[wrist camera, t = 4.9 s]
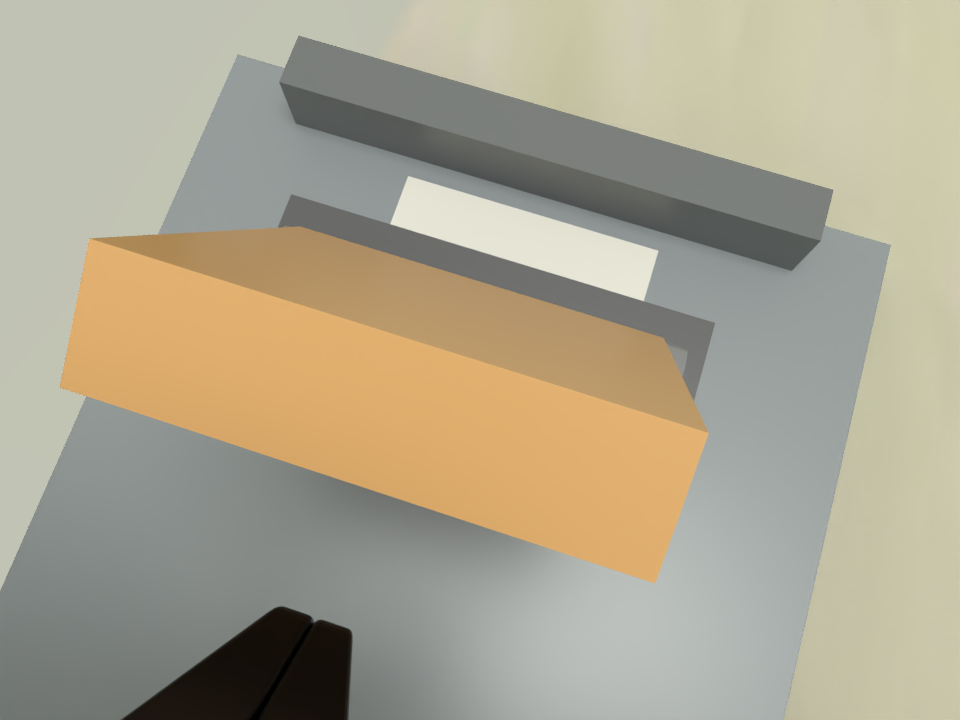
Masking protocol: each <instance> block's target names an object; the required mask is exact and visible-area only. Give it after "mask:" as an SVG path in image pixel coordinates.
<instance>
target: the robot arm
mask: <svg viewBox="0 0 960 720" xmlns="http://www.w3.org/2000/svg"><path fill="white" fill-rule="evenodd" d="M352 646H353V634H352V631H351V630H350V629H348V628H345V627H343V626H340V625H337V624H334V623H331V622H328V621H325V620H317V621H316V622H315V623H314V619H313V618H312V617H311V616H310V615H308V614H305V613H302V612H299V611H296V610H293V609H290V608H287V607H284V606H279V607H275V608H273V609H272V610H270V611H269V612H267V613H266V614H265V615H263V616H262V617H260V618H259V619H258V620H256V621H255V622H254V623H252V624H251V625H250V626H248V627H247V628H245V629H244V630H243V631H241V632H240V633H239V634H237V635H236V636H234V637H233V638H232V639H230V640H229V641H228V642H226V643H225V644H223V645H222V646H221V647H219V648H218V649H217V650H215V651H214V652H213V653H211V654H210V655H208V656H207V657H206V658H204V659H203V660H202V661H200V662H199V663H197V664H196V665H195V666H193V667H192V668H191V669H189V670H188V671H186V672H185V673H184V674H182V675H181V676H180V677H178V678H177V679H176V680H174V681H173V682H171V683H170V684H169V685H167V686H166V687H165V688H163V689H162V690H160V691H159V692H158V693H156V694H155V695H154V696H152V697H151V698H149V699H148V700H147V701H145V702H144V703H143V704H141V705H140V706H139V707H137V708H136V709H134V710H133V711H132V712H130V713H129V714H128V715H126V716H125V717H123V718H122V719H121V720H349V703H350V684H351V665H352Z"/></svg>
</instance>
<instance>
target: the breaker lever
mask: <svg viewBox="0 0 960 720" xmlns="http://www.w3.org/2000/svg"><path fill="white" fill-rule="evenodd" d="M687 354H688V350H687V348H684V347H681V346H677V345H674V344H671V343H668V342H665V340H664V338H662V337H659V336H656V335H653V334H649V333H646V332H643V331H640V330H636V329H633V328H630V327H627V326H623V325H620V324H617V323H613V322H610V321H607V320H604V319H600V318H597V317H594V316H591V315H587V314H584V313H581V312H578V311H574V310H571V309H568V308H565V307H561V306H558V305H555V304H552V303H548V302H545V301H542V300H538V299H535V298H532V297H529V296H525V295H522V294H519V293H516V292H512V291H509V290H506V289H503V288H499V287H496V286H493V285H490V284H486V283H483V282H480V281H476V280H473V279H470V278H467V277H463V276H460V275H457V274H454V273H450V272H447V271H444V270H441V269H437V268H434V267H431V266H428V265H424V264H421V263H418V262H414V261H411V260H408V259H405V258H401V257H398V256H395V255H392V254H388V253H385V252H382V251H379V250H375V249H372V248H369V247H366V246H362V245H359V244H356V243H353V242H349V241H346V240H343V239H339V238H336V237H333V236H330V235H326V234H323V233H320V232H317V231H313V230H310V229H307V228H304V227H300V226H298V227H290V226H283V227H280V228H263V229H246V230H228V231H211V232H194V233H176V234H159V235H143V236H126V237H107V238H90V239H89V243H88V249H87V253H86V258H85V264H84V268H83V274H82V278H81V283H80V289H79V294H78V299H77V304H76V309H75V314H74V319H73V324H72V329H71V334H70V339H69V344H68V349H67V354H66V359H65V364H64V369H63V374H62V379H61V384H60V388H63V389H66V390H69V391H72V392H75V393H78V394H81V395H84V396H87V397H90V398H93V399H96V400H99V401H103V402H106V403H109V404H112V405H115V406H118V407H121V408H124V409H127V410H130V411H133V412H136V413H139V414H142V415H145V416H148V417H151V418H154V419H157V420H160V421H163V422H166V423H169V424H172V425H175V426H178V427H181V428H184V429H188V430H191V431H194V432H197V433H200V434H203V435H206V436H209V437H212V438H215V439H218V440H221V441H224V442H227V443H230V444H233V445H236V446H239V447H242V448H245V449H248V450H251V451H254V452H257V453H260V454H263V455H266V456H270V457H273V458H276V459H279V460H282V461H285V462H288V463H291V464H294V465H297V466H300V467H303V468H306V469H309V470H312V471H315V472H318V473H321V474H324V475H327V476H330V477H333V478H336V479H339V480H342V481H345V482H348V483H351V484H355V485H358V486H361V487H364V488H367V489H370V490H373V491H376V492H379V493H382V494H385V495H388V496H391V497H394V498H397V499H400V500H403V501H406V502H409V503H412V504H415V505H418V506H421V507H424V508H427V509H430V510H433V511H436V512H440V513H443V514H446V515H449V516H452V517H455V518H458V519H461V520H464V521H467V522H470V523H473V524H476V525H479V526H482V527H485V528H488V529H491V530H494V531H497V532H500V533H503V534H506V535H509V536H512V537H515V538H518V539H522V540H525V541H528V542H531V543H534V544H537V545H540V546H543V547H546V548H549V549H552V550H555V551H558V552H561V553H564V554H567V555H570V556H573V557H576V558H579V559H582V560H585V561H588V562H591V563H594V564H597V565H600V566H603V567H607V568H610V569H613V570H616V571H619V572H622V573H625V574H628V575H631V576H634V577H637V578H640V579H643V580H646V581H649V582H652V583H656V580H657V577H658V575H659V572H660V569H661V566H662V563H663V561H664V558H665V555H666V552H667V549H668V546H669V544H670V541H671V538H672V535H673V532H674V530H675V527H676V524H677V521H678V518H679V516H680V513H681V510H682V507H683V504H684V502H685V499H686V496H687V493H688V490H689V487H690V485H691V482H692V479H693V476H694V473H695V471H696V468H697V465H698V462H699V459H700V457H701V454H702V451H703V448H704V445H705V442H706V440H707V437H708V434H709V432H708V430H707V428H706V426H705V424H704V422H703V420H702V417H701V415H700V413H699V411H698V409H697V407H696V405H695V403H694V401H693V399H692V396H691V394H690V392H689V390H688V388H687V386H686V384H685V382H684V380H683V378H682V377H683V374H684V370H685V366H686V361H687Z"/></svg>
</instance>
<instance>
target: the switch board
mask: <svg viewBox="0 0 960 720" xmlns="http://www.w3.org/2000/svg"><path fill="white" fill-rule="evenodd" d="M832 194H833V190H832V189H828V188H825V187H821V186H818V185H814V184H811V183H807V182H804V181H800V180H797V179H793V178H790V177H786V176H783V175H780V174H776V173H773V172H769V171H766V170H762V169H759V168H755V167H752V166H748V165H745V164H741V163H738V162H734V161H731V160H728V159H724V158H721V157H717V156H714V155H710V154H707V153H703V152H700V151H696V150H693V149H689V148H686V147H682V146H679V145H676V144H672V143H669V142H665V141H662V140H658V139H655V138H651V137H648V136H644V135H641V134H637V133H634V132H630V131H627V130H624V129H620V128H617V127H613V126H610V125H606V124H603V123H599V122H596V121H592V120H589V119H585V118H582V117H578V116H575V115H572V114H568V113H565V112H561V111H558V110H554V109H551V108H547V107H544V106H540V105H537V104H533V103H530V102H526V101H523V100H520V99H516V98H513V97H509V96H506V95H502V94H499V93H495V92H492V91H488V90H485V89H481V88H478V87H474V86H471V85H468V84H464V83H461V82H457V81H454V80H450V79H447V78H443V77H440V76H436V75H433V74H429V73H426V72H422V71H419V70H416V69H412V68H409V67H405V66H402V65H398V64H395V63H391V62H388V61H384V60H381V59H377V58H374V57H370V56H367V55H364V54H360V53H357V52H353V51H350V50H346V49H343V48H339V47H336V46H332V45H329V44H325V43H322V42H319V41H315V40H312V39H308V38H305V37H301V36H299V37H298V39H297V41H296V43H295V46H294V48H293V50H292V53H291V55H290V57H289V60H288V62H287V65H286V67H285V68H282V67H278V66H275V65H272V64H268V63H265V62H262V61H258V60H254V59H251V58H247V57H244V56H241V55H237V57H236V60H235V62H234V64H233V66H232V69H231V71H230V73H229V76H228V78H227V80H226V82H225V85H224V87H223V89H222V91H221V94H220V96H219V98H218V100H217V103H216V105H215V107H214V110H213V112H212V114H211V116H210V119H209V121H208V123H207V125H206V127H205V130H204V132H203V134H202V136H201V139H200V141H199V143H198V146H197V148H196V150H195V152H194V155H193V157H192V159H191V161H190V164H189V166H188V168H187V170H186V173H185V175H184V177H183V179H182V182H181V184H180V186H179V189H178V191H177V193H176V195H175V198H174V200H173V202H172V204H171V207H170V209H169V211H168V213H167V216H166V218H165V220H164V222H163V225H162V227H161V229H160V232H159V234H176V233H194V232H211V231H228V230H246V229H263V228H280V227H283V226H290V227H298V226H300V227H304V228H307V229H310V230H313V231H317V232H320V233H323V234H326V235H330V236H333V237H336V238H339V239H343V240H346V241H349V242H353V243H356V244H359V245H362V246H366V247H369V248H372V249H375V250H379V251H382V252H385V253H388V254H392V255H395V256H398V257H401V258H405V259H408V260H411V261H414V262H418V263H421V264H424V265H428V266H431V267H434V268H437V269H441V270H444V271H447V272H450V273H454V274H457V275H460V276H463V277H467V278H470V279H473V280H476V281H480V282H483V283H486V284H490V285H493V286H496V287H499V288H503V289H506V290H509V291H512V292H516V293H519V294H522V295H525V296H529V297H532V298H535V299H538V300H542V301H545V302H548V303H552V304H555V305H558V306H561V307H565V308H568V309H571V310H574V311H578V312H581V313H584V314H587V315H591V316H594V317H597V318H600V319H604V320H607V321H610V322H613V323H617V324H620V325H623V326H627V327H630V328H633V329H636V330H640V331H643V332H646V333H649V334H653V335H656V336H659V337H662V338H664V340H665V342H668V343H671V344H674V345H677V346H681V347H684V348H687V350H688V354H687V361H686V366H685V370H684V374H683V377H682V378H683V380H684V382H685V384H686V386H687V388H688V390H689V392H690V394H691V396H692V399H693V401H694V403H695V405H696V407H697V409H698V411H699V413H700V415H701V417H702V420H703V422H704V424H705V426H706V428H707V430H708V432H709V434H708V437H707V440H706V442H705V445H704V448H703V451H702V454H701V457H700V459H699V462H698V465H697V468H696V471H695V473H694V476H693V479H692V482H691V485H690V487H689V490H688V493H687V496H686V499H685V502H684V504H683V507H682V510H681V513H680V516H679V518H678V521H677V524H676V527H675V530H674V532H673V535H672V538H671V541H670V544H669V546H668V549H667V552H666V555H665V558H664V561H663V563H662V566H661V569H660V572H659V575H658V577H657V580H656V583H652V582H649V581H646V580H643V579H640V578H637V577H634V576H631V575H628V574H625V573H622V572H619V571H616V570H613V569H610V568H607V567H603V566H600V565H597V564H594V563H591V562H588V561H585V560H582V559H579V558H576V557H573V556H570V555H567V554H564V553H561V552H558V551H555V550H552V549H549V548H546V547H543V546H540V545H537V544H534V543H531V542H528V541H525V540H522V539H518V538H515V537H512V536H509V535H506V534H503V533H500V532H497V531H494V530H491V529H488V528H485V527H482V526H479V525H476V524H473V523H470V522H467V521H464V520H461V519H458V518H455V517H452V516H449V515H446V514H443V513H440V512H436V511H433V510H430V509H427V508H424V507H421V506H418V505H415V504H412V503H409V502H406V501H403V500H400V499H397V498H394V497H391V496H388V495H385V494H382V493H379V492H376V491H373V490H370V489H367V488H364V487H361V486H358V485H355V484H351V483H348V482H345V481H342V480H339V479H336V478H333V477H330V476H327V475H324V474H321V473H318V472H315V471H312V470H309V469H306V468H303V467H300V466H297V465H294V464H291V463H288V462H285V461H282V460H279V459H276V458H273V457H270V456H266V455H263V454H260V453H257V452H254V451H251V450H248V449H245V448H242V447H239V446H236V445H233V444H230V443H227V442H224V441H221V440H218V439H215V438H212V437H209V436H206V435H203V434H200V433H197V432H194V431H191V430H188V429H184V428H181V427H178V426H175V425H172V424H169V423H166V422H163V421H160V420H157V419H154V418H151V417H148V416H145V415H142V414H139V413H136V412H133V411H130V410H127V409H124V408H121V407H118V406H115V405H112V404H109V403H106V402H103V401H99V400H96V399H93V398H90V397H87V396H86V399H85V401H84V403H83V405H82V408H81V410H80V412H79V415H78V417H77V419H76V421H75V424H74V426H73V428H72V431H71V433H70V435H69V437H68V439H67V442H66V444H65V446H64V449H63V451H62V453H61V455H60V458H59V460H58V462H57V464H56V466H55V469H54V471H53V473H52V476H51V478H50V480H49V482H48V485H47V487H46V489H45V491H44V494H43V496H42V498H41V500H40V503H39V505H38V507H37V509H36V512H35V514H34V516H33V519H32V521H31V523H30V525H29V527H28V530H27V532H26V535H25V536H24V539H23V541H22V543H21V546H20V548H19V550H18V552H17V555H16V557H15V560H14V561H13V564H12V566H11V568H10V571H9V573H8V575H7V577H6V580H5V582H4V584H3V586H2V588H1V591H0V720H121V719H122V718H123V717H125V716H126V715H128V714H129V713H130V712H132V711H133V710H134V709H136V708H137V707H139V706H140V705H141V704H143V703H144V702H145V701H147V700H148V699H149V698H151V697H152V696H154V695H155V694H156V693H158V692H159V691H160V690H162V689H163V688H165V687H166V686H167V685H169V684H170V683H171V682H173V681H174V680H176V679H177V678H178V677H180V676H181V675H182V674H184V673H185V672H186V671H188V670H189V669H191V668H192V667H193V666H195V665H196V664H197V663H199V662H200V661H202V660H203V659H204V658H206V657H207V656H208V655H210V654H211V653H213V652H214V651H215V650H217V649H218V648H219V647H221V646H222V645H223V644H225V643H226V642H228V641H229V640H230V639H232V638H233V637H234V636H236V635H237V634H239V633H240V632H241V631H243V630H244V629H245V628H247V627H248V626H250V625H251V624H252V623H254V622H255V621H256V620H258V619H259V618H260V617H262V616H263V615H265V614H266V613H267V612H269V611H270V610H272V609H273V608H275V607H279V606H284V607H287V608H290V609H293V610H296V611H299V612H302V613H305V614H308V615H310V616H311V617H312V618H313V619H314V623H315V622H316V621H317V620H325V621H328V622H331V623H334V624H337V625H340V626H343V627H345V628H348V629H350V630H351V631H352V634H353V646H352V665H351V684H350V703H349V720H784V715H785V711H786V706H787V702H788V698H789V693H790V689H791V684H792V680H793V675H794V671H795V667H796V662H797V658H798V653H799V649H800V644H801V640H802V636H803V631H804V627H805V622H806V618H807V613H808V609H809V605H810V600H811V596H812V591H813V587H814V582H815V578H816V574H817V569H818V565H819V560H820V556H821V551H822V547H823V543H824V538H825V534H826V529H827V525H828V520H829V516H830V512H831V507H832V503H833V498H834V494H835V489H836V485H837V481H838V476H839V472H840V467H841V463H842V458H843V454H844V450H845V445H846V441H847V436H848V432H849V427H850V423H851V419H852V414H853V410H854V405H855V401H856V396H857V392H858V388H859V383H860V379H861V374H862V370H863V365H864V361H865V357H866V352H867V348H868V343H869V339H870V334H871V330H872V326H873V321H874V317H875V312H876V308H877V303H878V299H879V295H880V290H881V286H882V281H883V277H884V272H885V268H886V264H887V259H888V255H889V250H890V246H891V245H888V244H885V243H881V242H878V241H875V240H871V239H868V238H864V237H861V236H857V235H854V234H851V233H847V232H844V231H840V230H837V229H834V228H830V227H827V226H825V222H826V218H827V214H828V210H829V206H830V202H831V198H832ZM159 234H158V235H159Z"/></svg>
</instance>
